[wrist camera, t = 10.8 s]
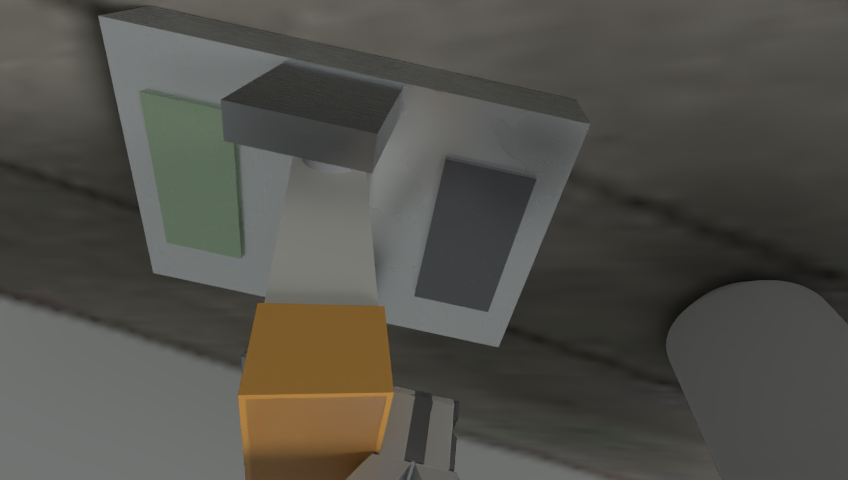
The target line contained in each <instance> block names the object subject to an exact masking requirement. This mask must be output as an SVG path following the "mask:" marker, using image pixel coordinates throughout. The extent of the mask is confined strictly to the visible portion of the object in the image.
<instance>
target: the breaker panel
mask: <svg viewBox="0 0 848 480" xmlns="http://www.w3.org/2000/svg"><path fill="white" fill-rule="evenodd" d="M98 18H99V22H100V27H101V32H102V36H103V41H104V46H105V50H106V55H107V60H108V64H109V69H110V74H111V78H112V83H113V88H114V92H115V97H116V101H117V106H118V111H119V115H120V120H121V125H122V129H123V134H124V139H125V143H126V148H127V153H128V157H129V162H130V167H131V171H132V176H133V181H134V185H135V190H136V195H137V199H138V204H139V209H140V213H141V218H142V223H143V227H144V232H145V237H146V241H147V246H148V251H149V255H150V260H151V265H152V269H153V273H156V274H160V275H165V276H170V277H174V278H179V279H184V280H188V281H193V282H198V283H202V284H207V285H211V286H216V287H221V288H225V289H230V290H235V291H239V292H244V293H249V294H253V295H258V296H262V297H265V296H266V291H267V286H268V281H269V276H270V271H271V266H272V261H273V256H274V251H275V245H276V240H277V235H278V230H279V225H280V220H281V215H282V210H283V205H284V200H285V195H286V190H287V184H288V179H289V174H290V169H291V164H292V159H293V158H303V159H308V160H312V161H317V162H322V163H326V164H331V165H335V166H340V167H344V168H349V169H354V170H358V171H363V172H366V177H367V188H368V198H369V209H370V220H371V230H372V241H373V252H374V262H375V273H376V283H377V294H378V305H379V306H385V315H386V323H388V324H392V325H397V326H402V327H406V328H411V329H415V330H420V331H425V332H429V333H434V334H439V335H443V336H448V337H453V338H457V339H462V340H466V341H471V342H476V343H480V344H485V345H490V346H494V347H499V345H500V343H501V340H502V338H503V335H504V333H505V331H506V328H507V326H508V323H509V321H510V318H511V316H512V314H513V311H514V309H515V306H516V304H517V301H518V299H519V296H520V294H521V292H522V289H523V287H524V284H525V282H526V279H527V277H528V275H529V272H530V270H531V267H532V265H533V262H534V260H535V258H536V255H537V253H538V250H539V248H540V245H541V243H542V241H543V238H544V236H545V233H546V231H547V228H548V226H549V224H550V221H551V219H552V216H553V214H554V211H555V209H556V207H557V204H558V202H559V199H560V197H561V194H562V192H563V189H564V187H565V185H566V182H567V180H568V177H569V175H570V172H571V170H572V168H573V165H574V163H575V160H576V158H577V155H578V153H579V151H580V148H581V146H582V143H583V141H584V138H585V136H586V134H587V131H588V129H589V126H590V123H589V121H588V119H587V118H586V116H585V114H584V112H583V111H582V109H581V107H580V106H579V104H578V102H577V100H575V99H570V98H566V97H561V96H557V95H552V94H548V93H543V92H539V91H534V90H529V89H525V88H520V87H516V86H511V85H507V84H502V83H498V82H493V81H489V80H484V79H480V78H475V77H471V76H466V75H462V74H457V73H453V72H448V71H444V70H439V69H434V68H430V67H425V66H421V65H416V64H412V63H407V62H403V61H398V60H394V59H389V58H385V57H380V56H376V55H371V54H367V53H362V52H358V51H353V50H349V49H344V48H339V47H335V46H330V45H326V44H321V43H317V42H312V41H308V40H303V39H299V38H294V37H290V36H285V35H281V34H276V33H272V32H267V31H263V30H258V29H254V28H249V27H244V26H240V25H235V24H231V23H226V22H222V21H217V20H213V19H208V18H204V17H199V16H195V15H190V14H186V13H181V12H177V11H172V10H168V9H163V8H159V7H154V6H146V7H141V8H136V9H130V10H125V11H120V12H115V13H109V14H104V15H99V16H98ZM248 346H249V344H248ZM248 346H247V348H246V349H245V351H244V353H243V354H242V356H241V362H242V374H243V369H244V365H245V360H246V355H247V350H248Z"/></svg>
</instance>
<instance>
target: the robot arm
mask: <svg viewBox="0 0 848 480" xmlns="http://www.w3.org/2000/svg"><path fill="white" fill-rule="evenodd" d="M393 388H394V394H393V399H392V403H391V407H390V412H389V416H388V420H387V424H386V429H385V433H384V437H383V442H382V446H381V450H380V451H374V454H373V453H372V454H371V455H370V456H369V457H368V458H367V459H366V460H365V461H364V462H363V463H362V464H361V465H360V466H359V467H358V468H357V469H356V470H355V471H354V472H353V473H352V474H351V475H350V476H348V477H347V478H346V479H345V480H459V478H458V475H457V474H456V472H454V465H455V452H456V440H457V438H456V436H455V435H454V433H453V431H454V428H455V425H456V422H457V420H458V410H459V404H458V402H457V401H454V400H453V399H450V398H445V397H440V396H435V395H431V394H429V393H424V392H420V391H415V390H410V389H405V388H401V387H397V386H393Z"/></svg>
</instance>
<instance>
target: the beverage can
mask: <svg viewBox="0 0 848 480" xmlns="http://www.w3.org/2000/svg"><path fill="white" fill-rule="evenodd" d="M666 351H667V355H668V359H669V361H670V363H671V365H672V368H673V370H674V372H675V375H676V377H677V379H678V381H679V384H680V386H681V388H682V390H683V393H684V395H685V397H686V399H687V402H688V404H689V406H690V408H691V411H692V413H693V415H694V418H695V420H696V422H697V424H698V427H699V429H700V431H701V433H702V436H703V438H704V440H705V442H706V445H707V447H708V449H709V451H710V454H711V456H712V458H713V460H714V463H715V465H716V467H717V470H718V472H719V474H720V476H721V479H722V480H848V324H847V323H846V322H845V321H844V319H843V318H842V317H841V316H840V315H839V314H838V313H837V312H836V311H835V310H834V309H833V308H832V307H831V306H830V305H829V304H828V303H827V302H826V301H825V300H824V299H823V298H822V297H821V296H820V295H819V294H817V293H816V292H814V291H812V290H811V289H809V288H806V287H804V286H802V285H799V284H796V283H791V282H786V281H779V280H756V281H745V282H737V283H732V284H728V285H725V286H722V287H719V288H717V289H714V290H712V291H710V292H708V293H707V294H705V295H703V296H702V297H700V298H699V299H697V300H696V301H695V302H694V303H692V304H691V305H690V306H688V307H687V308H686V309H685V310H684V311H683V312H682V313H681V314H680V315H679V316H678V317H677V319H676V320H675V321H674V323H673V324H672V326H671V328H670V330H669V332H668V335H667V340H666Z"/></svg>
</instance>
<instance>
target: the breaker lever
mask: <svg viewBox="0 0 848 480" xmlns="http://www.w3.org/2000/svg"><path fill="white" fill-rule="evenodd" d="M393 394H394V388H393V379H392V370H391V361H390V352H389V342H388V333H387V324H386V315H385V306H379V305H378V294H377V283H376V273H375V262H374V252H373V241H372V230H371V220H370V209H369V198H368V188H367V177H366V172H363V171H358V170H354V169H349V168H344V167H340V166H335V165H331V164H326V163H322V162H317V161H312V160H308V159H303V158H293V159H292V164H291V169H290V174H289V179H288V184H287V190H286V195H285V200H284V205H283V210H282V215H281V220H280V225H279V230H278V235H277V240H276V245H275V251H274V256H273V261H272V266H271V271H270V276H269V281H268V286H267V291H266V296H265V301H264V303H258V304H257V308H256V313H255V318H254V322H253V327H252V332H251V336H250V341H249V346H248V350H247V355H246V360H245V365H244V369H243V374H242V379H241V383H240V388H239V393H238V401H239V412H240V423H241V434H242V444H243V455H244V466H245V477H246V480H345V479H346V478H347V477H348V476H350V475H351V474H352V473H353V472H354V471H355V470H356V469H357V468H358V467H359V466H360V465H361V464H362V463H363V462H364V461H365V460H366V459H367V458H368V457H369V456H370V455H371V454H372V453H373V454H374V451H380V450H381V446H382V442H383V437H384V433H385V429H386V424H387V420H388V416H389V412H390V407H391V403H392V399H393Z"/></svg>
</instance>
